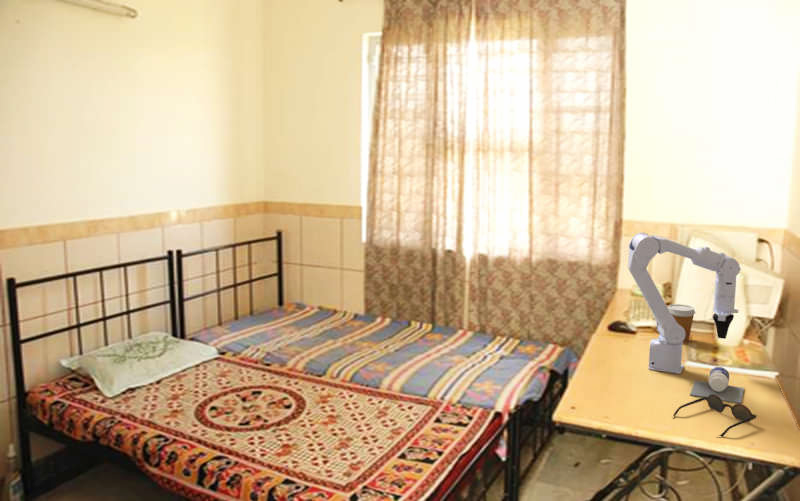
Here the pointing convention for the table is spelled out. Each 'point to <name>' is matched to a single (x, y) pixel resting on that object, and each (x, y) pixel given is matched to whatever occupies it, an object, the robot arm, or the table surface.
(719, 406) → the eyeglasses
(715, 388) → the pill bottle
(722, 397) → the desk mat
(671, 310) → the disposable coffee cup
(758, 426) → the table surface
